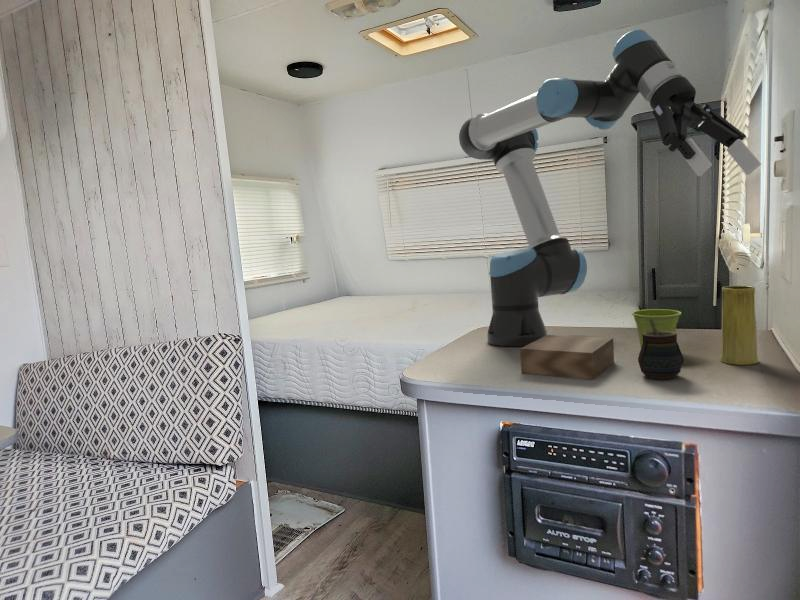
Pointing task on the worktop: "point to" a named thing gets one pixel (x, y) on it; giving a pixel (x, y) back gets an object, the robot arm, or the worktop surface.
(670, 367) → the mate gourd
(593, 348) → the walnut block
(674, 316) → the plant pot
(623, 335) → the worktop surface
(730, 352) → the vase
